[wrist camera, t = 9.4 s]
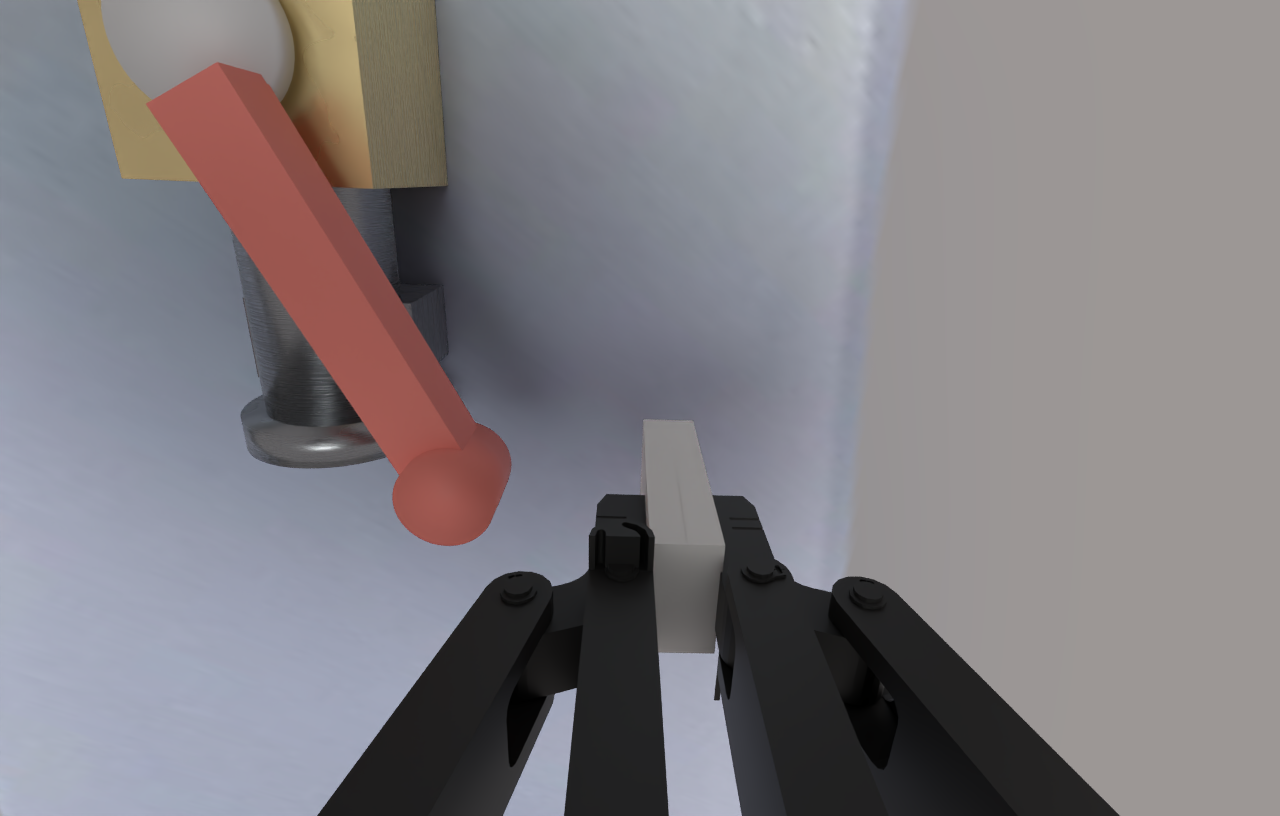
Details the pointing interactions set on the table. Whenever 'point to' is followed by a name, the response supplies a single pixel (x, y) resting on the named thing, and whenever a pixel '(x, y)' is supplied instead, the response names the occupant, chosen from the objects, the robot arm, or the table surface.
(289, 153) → the lever
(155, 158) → the valve pipe
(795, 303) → the table surface
